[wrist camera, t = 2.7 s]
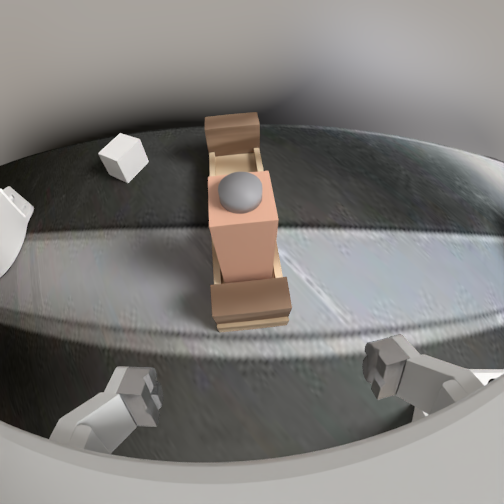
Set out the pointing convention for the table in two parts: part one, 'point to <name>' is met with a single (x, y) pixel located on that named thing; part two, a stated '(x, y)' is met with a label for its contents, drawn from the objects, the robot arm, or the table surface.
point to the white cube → (124, 157)
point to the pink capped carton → (243, 224)
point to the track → (222, 294)
